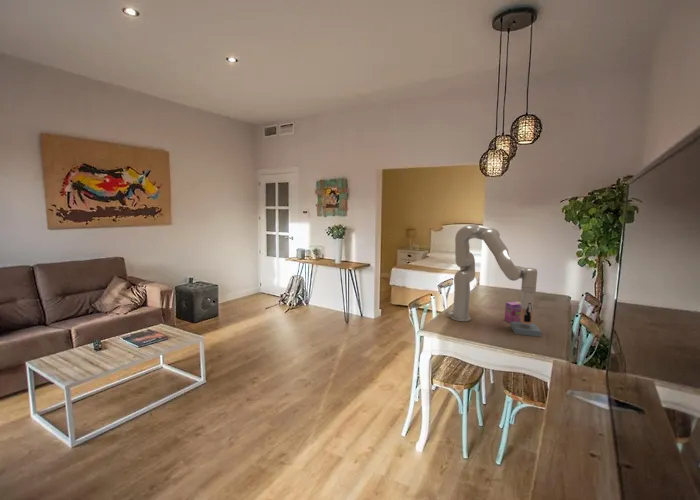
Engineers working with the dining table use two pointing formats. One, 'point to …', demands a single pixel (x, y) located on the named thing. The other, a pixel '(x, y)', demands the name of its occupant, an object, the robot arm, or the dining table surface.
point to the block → (524, 315)
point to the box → (512, 312)
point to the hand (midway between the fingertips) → (525, 319)
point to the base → (525, 329)
